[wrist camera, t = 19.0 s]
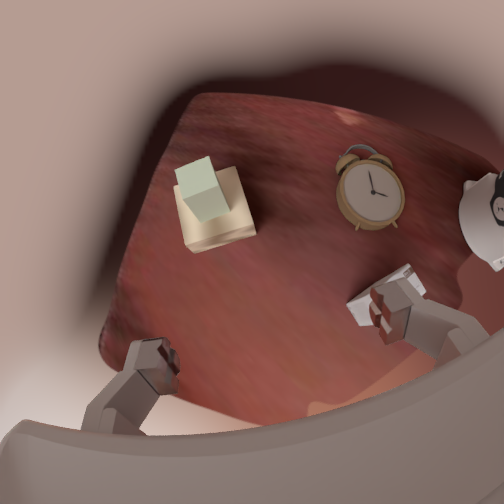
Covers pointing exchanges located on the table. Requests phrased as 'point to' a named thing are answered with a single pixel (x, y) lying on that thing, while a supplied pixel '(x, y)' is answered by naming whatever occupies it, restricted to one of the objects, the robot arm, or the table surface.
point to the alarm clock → (369, 190)
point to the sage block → (202, 190)
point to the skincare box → (362, 301)
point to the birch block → (221, 227)
